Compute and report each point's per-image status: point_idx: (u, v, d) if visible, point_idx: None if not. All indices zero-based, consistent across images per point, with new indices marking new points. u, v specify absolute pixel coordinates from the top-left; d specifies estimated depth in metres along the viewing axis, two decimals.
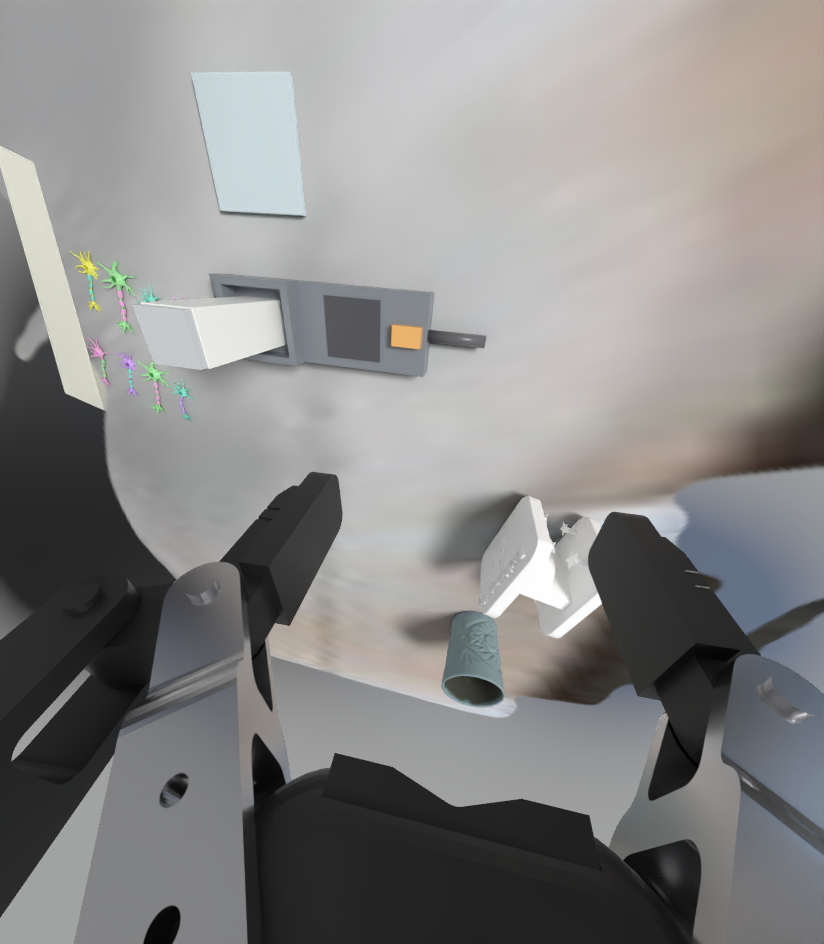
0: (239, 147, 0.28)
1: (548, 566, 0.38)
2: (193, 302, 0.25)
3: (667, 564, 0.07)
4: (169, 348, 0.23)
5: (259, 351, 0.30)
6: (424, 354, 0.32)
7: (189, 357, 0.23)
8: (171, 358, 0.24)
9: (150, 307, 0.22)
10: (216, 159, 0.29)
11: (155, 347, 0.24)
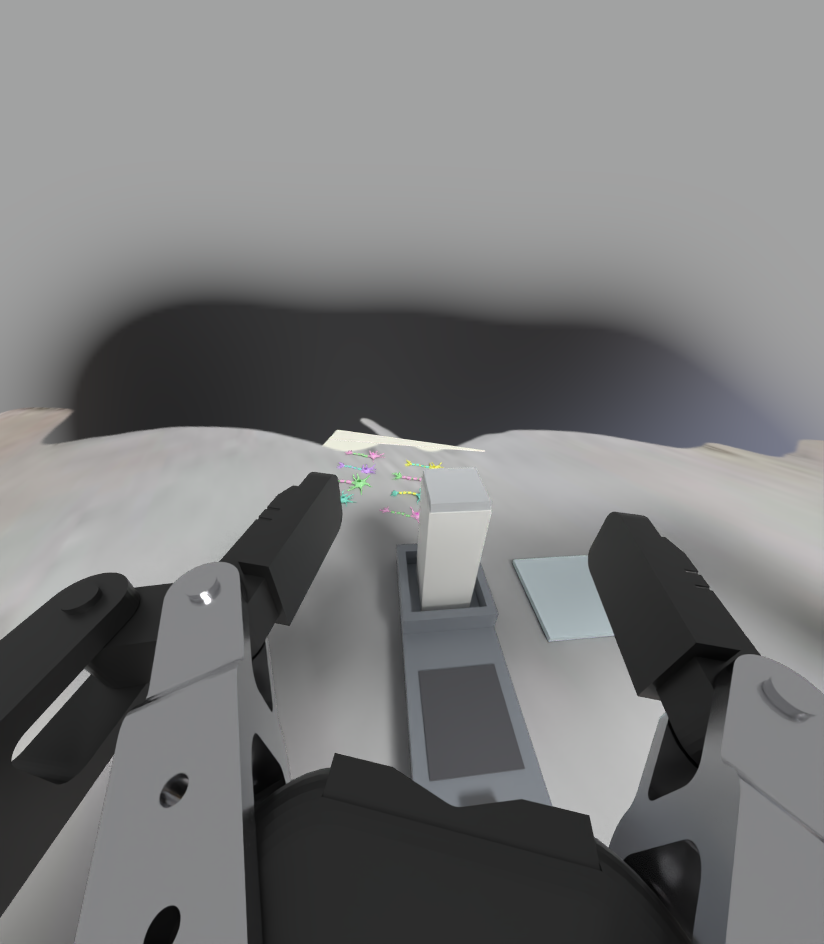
0: (565, 582, 0.33)
1: None
2: None
3: (667, 564, 0.07)
4: (444, 483, 0.22)
5: (426, 575, 0.24)
6: None
7: (442, 496, 0.21)
8: (434, 482, 0.22)
9: (480, 478, 0.23)
10: (547, 562, 0.35)
11: (441, 473, 0.23)
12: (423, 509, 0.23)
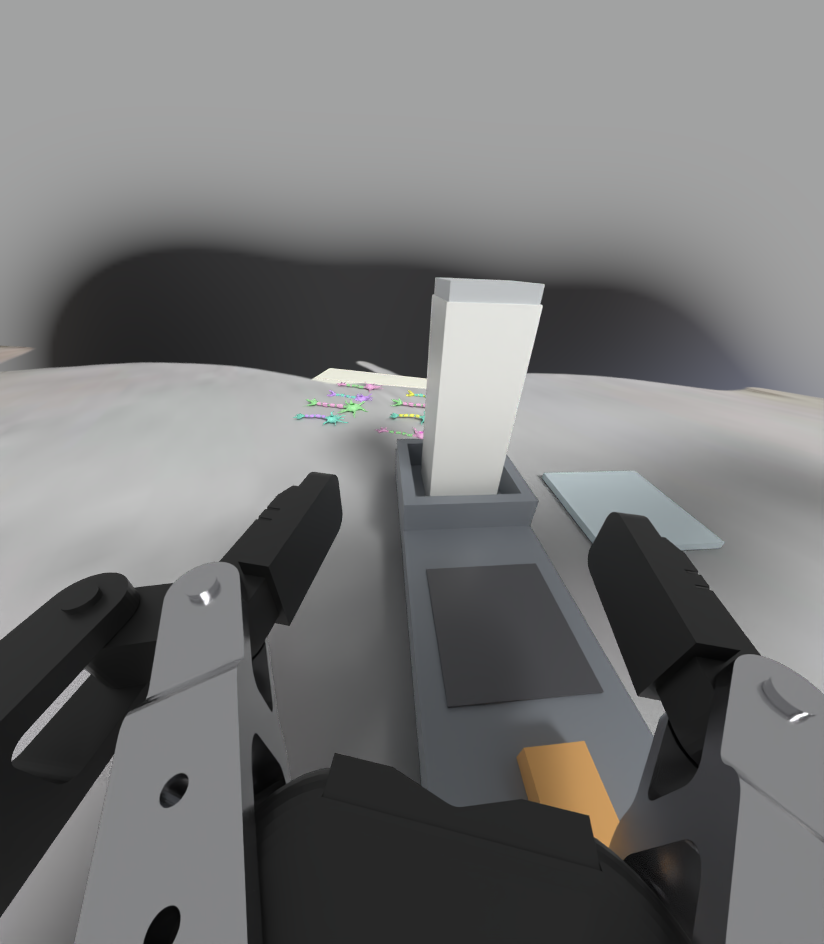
0: (613, 494, 0.25)
1: None
2: None
3: (667, 564, 0.07)
4: None
5: (438, 437, 0.17)
6: None
7: (466, 280, 0.14)
8: None
9: None
10: (586, 476, 0.27)
11: None
12: (435, 334, 0.16)
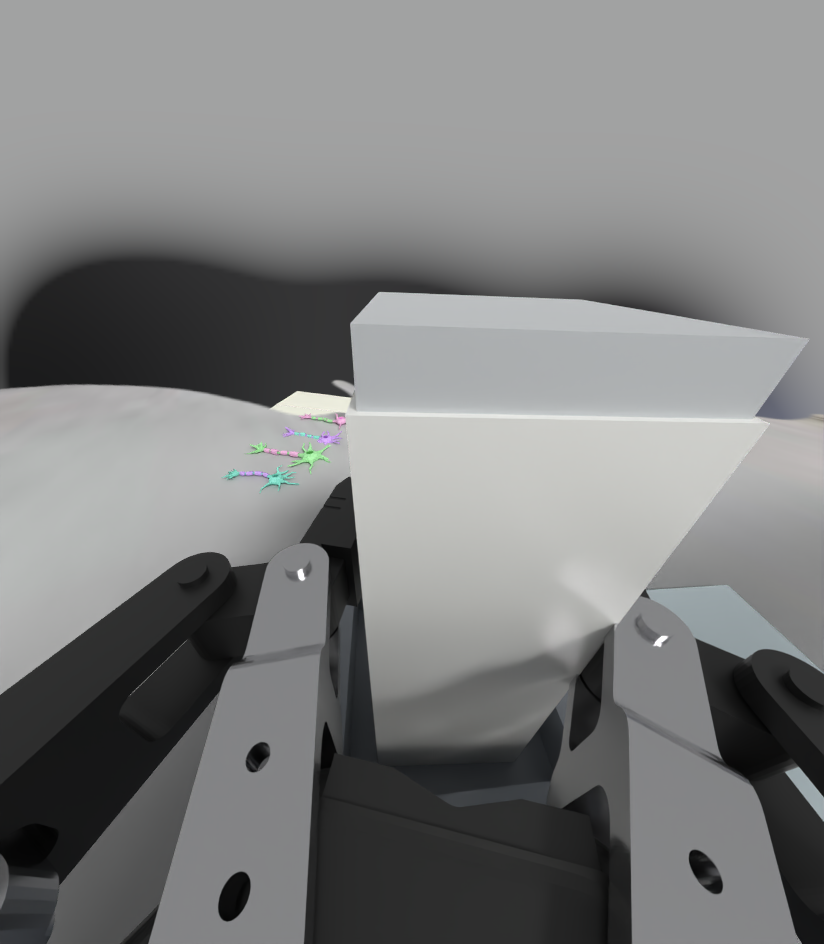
0: None
1: None
2: None
3: None
4: (462, 304, 0.05)
5: (380, 696, 0.07)
6: None
7: (441, 316, 0.03)
8: (411, 301, 0.05)
9: (624, 307, 0.05)
10: (656, 601, 0.17)
11: (447, 297, 0.06)
12: None
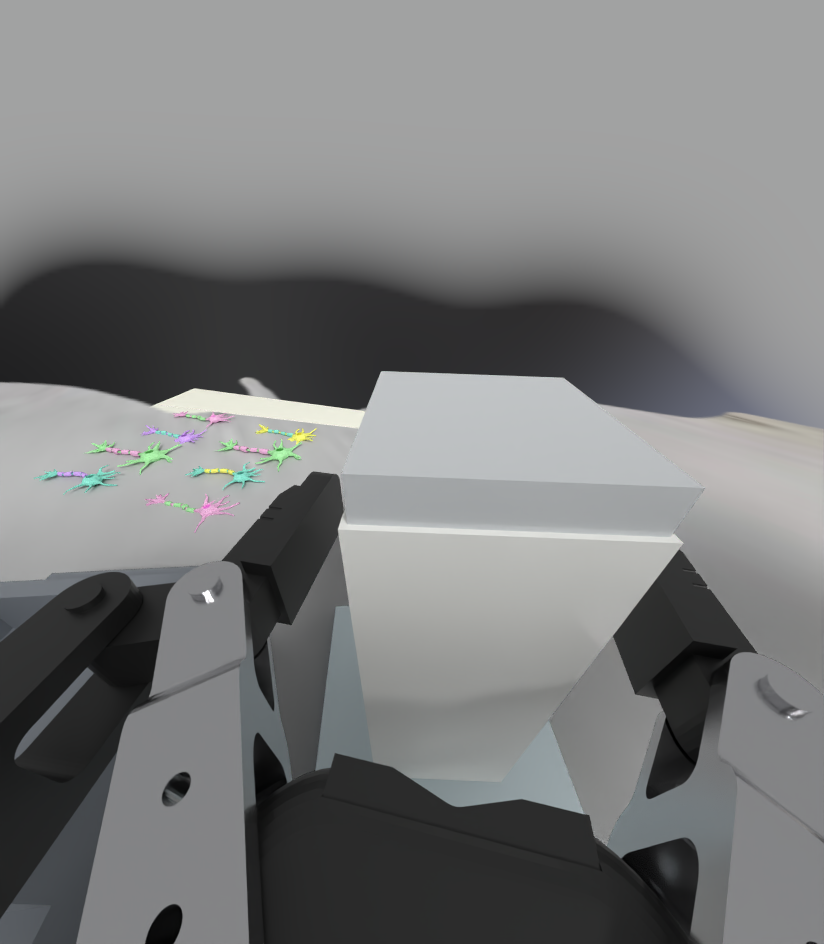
0: None
1: None
2: None
3: None
4: (445, 405, 0.05)
5: (373, 720, 0.08)
6: None
7: (416, 447, 0.04)
8: (403, 400, 0.05)
9: (591, 402, 0.06)
10: None
11: (438, 382, 0.06)
12: None
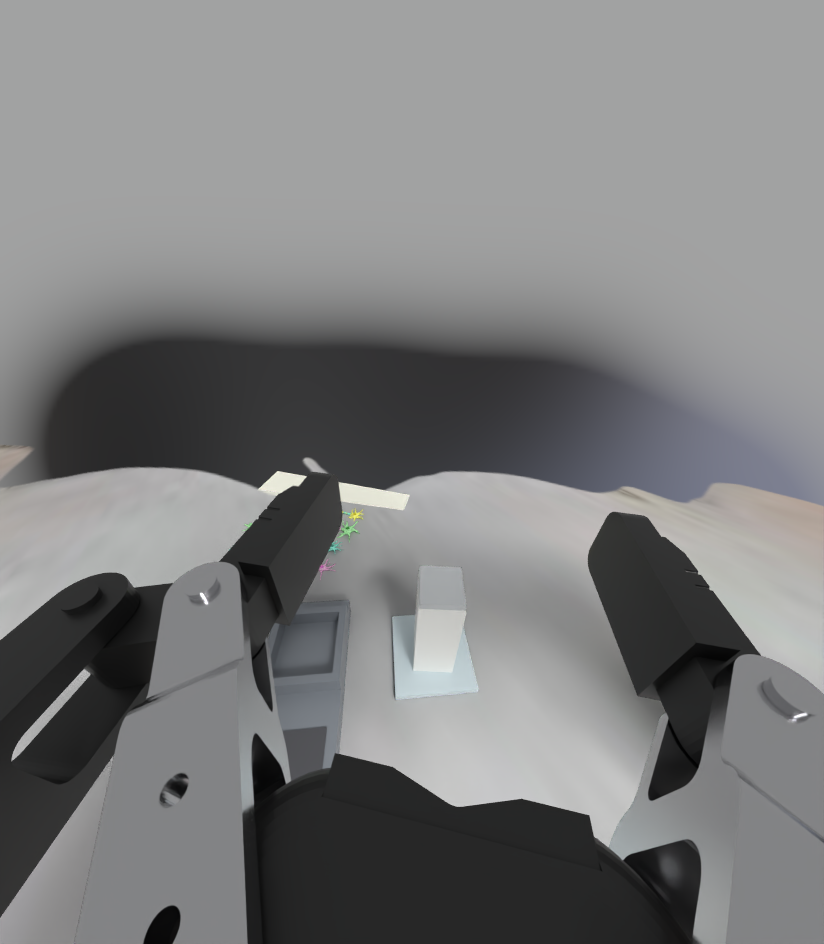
0: None
1: None
2: None
3: (667, 564, 0.07)
4: (433, 582, 0.29)
5: (416, 646, 0.31)
6: None
7: (429, 597, 0.28)
8: (425, 580, 0.29)
9: (462, 580, 0.29)
10: None
11: (432, 571, 0.30)
12: (417, 597, 0.30)
